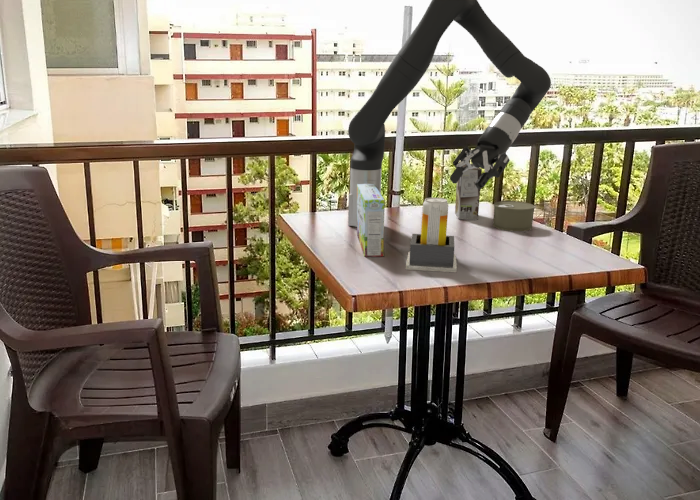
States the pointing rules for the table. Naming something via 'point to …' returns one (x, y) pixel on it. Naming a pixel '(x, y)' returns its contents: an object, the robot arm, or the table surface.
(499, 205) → the grey round container
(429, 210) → the beer can
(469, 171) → the coffee box
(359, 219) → the snack box
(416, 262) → the can holder
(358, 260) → the table surface
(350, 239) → the table surface
